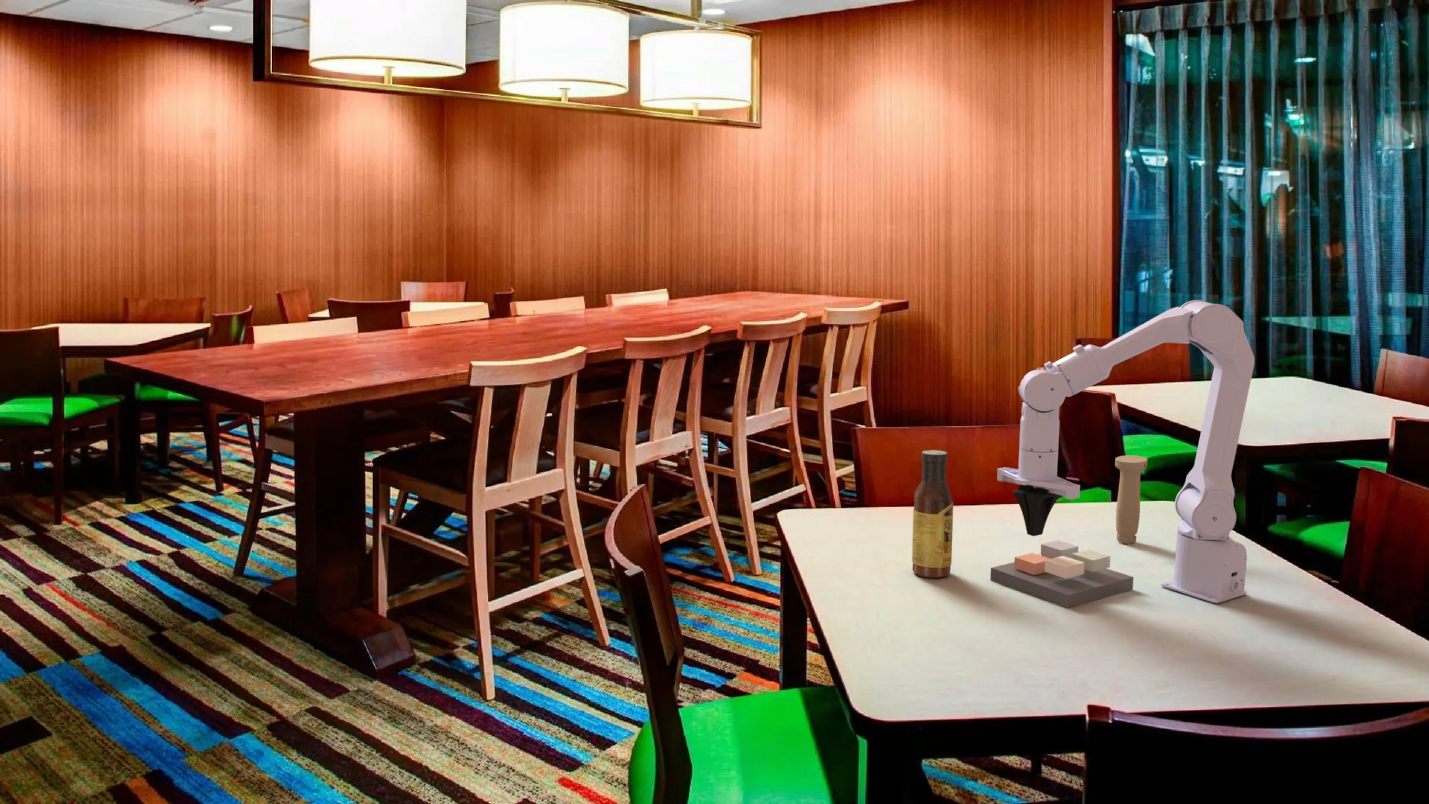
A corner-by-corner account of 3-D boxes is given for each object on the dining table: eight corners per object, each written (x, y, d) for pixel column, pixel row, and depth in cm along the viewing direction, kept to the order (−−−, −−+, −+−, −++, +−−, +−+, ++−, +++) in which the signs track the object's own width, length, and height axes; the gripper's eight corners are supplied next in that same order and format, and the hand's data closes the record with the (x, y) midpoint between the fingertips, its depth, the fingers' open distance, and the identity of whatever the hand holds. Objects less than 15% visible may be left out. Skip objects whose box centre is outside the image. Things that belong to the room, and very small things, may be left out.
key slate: (1077, 557, 170) (1078, 546, 170) (1060, 561, 168) (1061, 550, 168) (1057, 550, 173) (1058, 540, 173) (1040, 555, 171) (1041, 544, 171)
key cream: (1083, 574, 162) (1084, 562, 162) (1066, 578, 160) (1066, 567, 159) (1062, 567, 165) (1063, 555, 165) (1044, 571, 163) (1045, 560, 163)
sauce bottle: (951, 581, 169) (955, 457, 166) (911, 578, 170) (914, 456, 167) (950, 568, 175) (954, 449, 172) (911, 565, 176) (915, 447, 173)
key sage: (1109, 567, 165) (1110, 556, 165) (1092, 571, 163) (1093, 560, 163) (1088, 560, 168) (1088, 549, 168) (1071, 564, 166) (1071, 553, 166)
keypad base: (1132, 589, 165) (1133, 577, 164) (1067, 608, 157) (1068, 595, 157) (1054, 563, 177) (1055, 552, 177) (990, 579, 169) (990, 567, 169)
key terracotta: (1051, 570, 167) (1052, 559, 167) (1034, 575, 165) (1034, 563, 165) (1031, 563, 170) (1032, 552, 170) (1014, 568, 168) (1014, 557, 168)
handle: (1146, 540, 190) (1152, 458, 188) (1132, 548, 185) (1137, 464, 183) (1120, 535, 193) (1125, 454, 191) (1105, 543, 189) (1110, 459, 186)
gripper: (984, 443, 168) (981, 527, 171) (1059, 460, 156) (1054, 550, 159) (1016, 438, 172) (1012, 520, 174) (1091, 454, 160) (1086, 542, 162)
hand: (1034, 534), depth 167 cm, fingers closed
